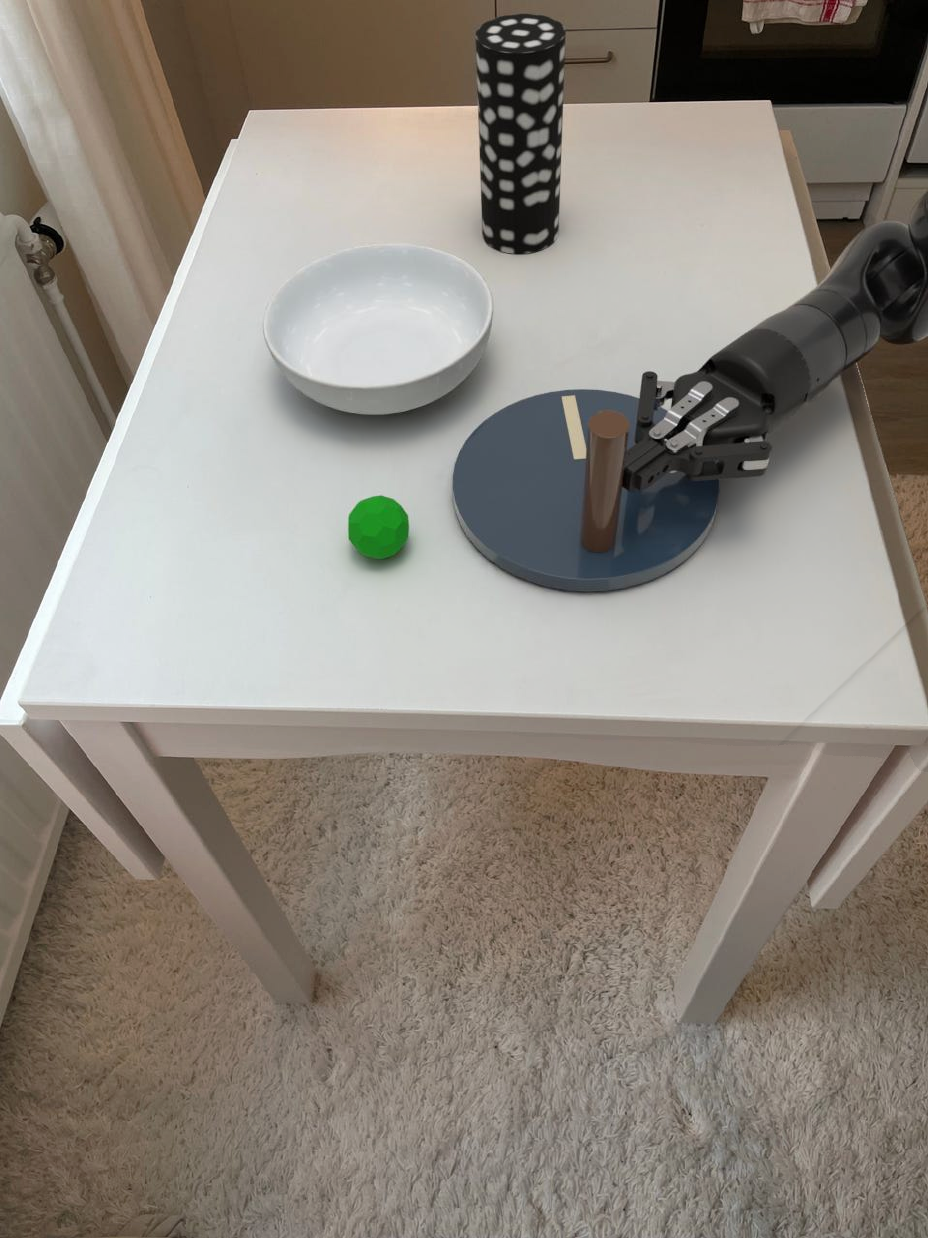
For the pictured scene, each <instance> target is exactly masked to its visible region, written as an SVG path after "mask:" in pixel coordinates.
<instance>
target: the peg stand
mask: <svg viewBox="0 0 928 1238" xmlns="http://www.w3.org/2000/svg"><path fill="white" fill-rule="evenodd" d="M639 398H640V397H637V396H634V395H630V394H626V393H621V392H616V391H610V390H604V389H590V388H588V389H587V388H579V389H563V390H554V391H548V392H545V393H539V394H535V395H532V396H529V397H525V398H522V399H520V400H518V401H516V402H513V403H511V404H509V405H506V406H505V407H503V408H501V409H499V410H498V411H496V412H494V413H493V414H491V415H490V416H489V417H488V418H486V419H485V420H484V421H482V422H481V423H480V424H479V425H478V426H477V427H476V428H475V429H474V430H473V431H472V432H471V433H470V435H469V436H468V437H467V438H466V439H465V441H464V443H463V444H462V447H461V448H460V450H459V452H458V455H457V457H456V460H455V462H454V466H453V472H452V497H453V498H452V499H453V504H454V505H453V506H454V510H455V515H456V517H457V519H458V521H459V524H460V527H461V528H462V530H463V531H464V533H465V535H466V537H467V539H469V541H470V542H471V543H472V544H473V546H474V547H475V548H476V550H478V551H479V552H480V553H481V554H482V555H483V556H484V557H486V559H488V560H489V561H491V562H492V563H493V564H495V565H496V566H497V567H499V569H500V568H501V569H502V570H505V572H508V573H510V574H512V575H514V576H515V577H518V578H520V579H522V580H525V581H528V582H530V583H533V584H535V585H540V586H543V587H547V588H551V589H558V590H563V591H571V592H572V591H573V592H607V591H614V590H620V589H625V588H629V587H633V586H637V585H641V584H644V583H646V582H649V581H652V580H655V579H657V578H659V577H661V576H663V575H664V574H667V573H668V572H671V571H672V570H674V569H675V568H676V567H678V566H680V565H681V564H682V563H684V562H685V561H686V560H687V559H688V558H689V557H690V556H692V554H694V553H695V552H696V550H697V549H699V547H700V546H701V544H702V543H703V542H704V541H705V539H706V537H707V535H708V533H710V530H711V529H712V526H713V524H714V521H715V518H716V515H717V511H718V505H719V500H720V493H721V487H720V479H716V480H703V481H691V480H689V479H687V477H686V473H683V472H680V471H677V472H675V473H667V474H666V475H664V476H663V477H662V478H660V479H659V480H658V481H656V482H655V483H654V484H652V485H651V486H650V487H648V488H647V489H644V490H638V489H636V490H635V491H634V492H632V493H630V492H629V491H627V490H626V489H625V488H623V487H622V484H623V476H624V467H625V459H626V451H627V450H629V449H630V448H632V447H633V446H634V445H636V443H635V441H634V439H635V431H636V423H637V414H638V406H639ZM667 412H668V410H667V409H665V408H664V407H663V406H661V407H659V410H658V411H655V410H654V415H653V422H654V424H655V425H657V424H658V423H659V422H660V421H661V420H663V419H664V417H665V416H666V413H667ZM705 464H716V461H709V462H705V463H704V465H705Z"/></svg>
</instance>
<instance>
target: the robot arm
mask: <svg viewBox="0 0 928 1238" xmlns="http://www.w3.org/2000/svg"><path fill="white" fill-rule="evenodd" d="M927 337H928V189H927V190H926V191H925V192H924V193H923V194H922V195H921V197H920V198H919V199H918V200H917V201H916V203H915V204H914V205H913V208H912V209H911V212H910V214H909V218H908V225H907V224H906V223H903V222H901V221H898V220H895V219H894V220H893V219H885V220H884V219H883V220H879V221H876V222H873V223H871V224H869V225H867V226H866V227H865V228H863V229H861V230H860V231H859V232H858V233H857V234H856V235H855V236H854V237H853V238H852V239H851V240H849V242H848V244H846V246H845V247H844V249H842V251H841V252H840V254H839V256H838V257H837V259H836V260H835V262H834V263H833V264H832V266H831V268H830V269H829V270H828V273H827V274H826V276H825V277H824V278H823V279H822V280H821V281H820V283H819V284H818V285H816V286H815V287H814V288H813V289H811V290H810V291H809V292H808V293H806V294H805V295H804V296H802V297H800V298H799V299H798V300H796V301H795V302H794V303H792V304H790V305H789V306H788V307H786V308H785V309H783V310H781V311H779V312H777V313H775V314H772V315H771V316H769V317H767V318H766V319H764V320H762V321H761V322H759V323H758V324H756V325H755V326H753V327H752V328H750V329H749V330H748V331H746V332H744V333H743V334H742V335H740V336H739V337H738V338H736V339H735V340H733V341H732V342H730V343H729V344H727V345H726V346H724V347H723V348H722V349H720V350H719V351H717V352H715V353H714V354H713V355H711V356H710V357H709V358H708V359H707V360H706V362H705V363H704V364H703V365H702V366H701V367H700V368H699V369H698V370H697V371H694V372H691V373H687V374H686V373H685V374H683V375H680V376H678V378H677V379H676V380H675V381H667V380H658V379H659V378H658V377H659V376H658V374H657V372H655V371H652V370H651V371H650V370H647V371H645V372H643V373H642V375H641V382H640V389H639V390H640V391H639V397H638V398H639V406H638V414H637V423H636V431H635V439H634V441H635V443H636V445H634V446H633V447H632V448H630V449H629V450H627V451H626V459H625V467H624V476H623V484H622V487H623V488H625V489H626V490H627V491H629V492H630V493H632V492H634V491H635V490H636V489H638V490H644V489H647V488H648V487H650V486H651V485H652V484H654V483H655V482H656V481H658V480H659V479H660V478H662V477H663V476H664V475H666V474H667V473H675V472H677V471H680V472H683V473H686V477H687V479H689V480H691V481H703V480H716V479H719V480H727V479H741V478H753V477H762V476H764V475H765V474H766V471H767V467H768V466H769V462H770V459H771V453H772V450H773V446H772V444H771V443H769V442H768V441H765V439H766V436H767V435H769V434H770V433H771V432H772V431H774V430H775V429H777V428H778V427H779V426H781V425H782V424H783V423H784V422H786V421H787V420H789V419H790V418H791V417H792V416H793V415H795V414H796V413H797V412H799V411H800V410H801V409H803V408H804V407H805V406H807V405H808V404H811V403H812V402H813V401H814V400H815V399H816V398H817V397H818V396H819V395H821V394H822V393H823V392H824V391H825V390H826V389H827V388H828V387H829V386H830V384H831V383H832V382H834V381H835V380H836V379H837V378H838V377H840V376H841V375H843V373H845V372H846V371H848V370H849V369H850V368H852V367H853V366H855V364H857V363H858V362H859V361H860V360H862V359H863V358H865V356H868V354H869V353H870V352H871V351H872V350H873V349H874V347H875V346H876V345H877V343H878V341H879V339H880V338H881V339H882V340H884V342H886V343H888V344H893V345H897V346H898V345H899V346H903V345H904V346H905V345H911V344H914V343H917V342H919V341H921V340H924V339H925V338H927ZM670 399H671V403H670V408H669V409H668V410H667V411H668V412H667V413H666V416H665V417H664V419H663V420H661V421H660V422H659V423H658V424H657V425H655V424H654V422H653V415H654V410H655V411H658V410H659V407H663V406H664V405H665V403H666V401H667V400H670ZM709 461H715V464H705V465H704V463H705V462H709Z"/></svg>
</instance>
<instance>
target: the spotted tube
mask: <svg viewBox="0 0 928 1238" xmlns="http://www.w3.org/2000/svg"><path fill="white" fill-rule="evenodd" d="M566 34H567V33H566V27H565V26H564V25H563V24H562V23H561V22H560V21H559V20H557V19H555V18H552V17H550V16H547V15H542V14H537V13H513V14H506V15H501V16H497V17H494V18H491V19H489V20H487V21H486V22H483V23H482V24H481V25H480V26H479V27H478V28H477V30H476V32H475V57H476V59H475V62H476V63H475V65H476V86H477V87H476V88H477V90H476V91H477V92H476V93H477V115H478V116H477V118H478V121H477V122H478V148H479V177H480V178H479V179H480V203H481V204H480V206H481V232H482V238H483V240H484V242H485V244H487V245H488V246H489V247H491V248H492V249H494V250H497V251H499V252H502V253H505V254H514V255H526V254H532V253H536V252H539V251H543V250H544V249H547V248H548V247H550V246H551V245H552V244H553V243H555V241H557V239H558V236H559V234H560V233H559V231H560V205H561V204H560V203H561V201H560V200H561V176H562V146H563V120H564V91H565V90H564V89H565V88H564V87H565V63H566V62H565V61H566Z"/></svg>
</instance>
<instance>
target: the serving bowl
mask: <svg viewBox="0 0 928 1238" xmlns="http://www.w3.org/2000/svg"><path fill="white" fill-rule="evenodd" d="M493 316H494V299H493V295H492V292H491V290H490V287H489V284H488V283H487V281H486V280H485V278H484V277H483V276H482V275H481V274H480V272H479V271H478V270H477V269H475V268H474V267H473V266H472V265H471V264H469V263H468V262H466V261H465V260H463V259H462V258H460V257H458V256H456V255H454V254H451V253H449V252H446V251H443V250H440V249H437V248H435V247H434V248H433V247H429V246H425V245H422V244H421V245H420V244H412V243H403V242H402V243H400V242H399V243H398V242H397V243H395V242H389V243H387V242H386V243H373V244H372V243H371V244H365V245H359V246H354V247H350V248H345V249H341V250H338V251H335V252H332V253H330V254H327V255H324V256H321V257H320V258H317V259H315V260H313V261H311V262H309V263H308V264H306V265H304V266H303V267H301V268H299V269H298V270H296V271H295V272H294V273H293V274H291V275H290V276H289V277H288V278H286V280H285V281H283V282H282V283H281V285H279V287H277V289H276V290H275V292H274V293H273V294H272V296H271V297H270V299H269V301H268V303H267V305H266V307H265V310H264V314H263V319H262V334H263V337H264V342H265V344H266V347H267V349H268V351H269V353H270V355H271V357H272V359H273V361H274V363H275V365H276V366H277V368H278V370H279V371H280V372H281V373H282V375H283V376H284V378H285V379H286V380H287V381H288V382H289V383H290V384H291V385H292V386H293V387H294V388H296V390H298V391H299V392H300V393H302V394H303V395H305V396H306V397H308V398H309V399H311V400H313V401H314V402H317V403H319V404H320V405H323V406H326V407H328V408H332V409H334V410H337V411H341V412H345V413H350V414H359V415H371V416H373V415H376V416H377V415H379V416H380V415H381V416H382V415H391V414H399V413H402V412H407V411H411V410H414V409H417V408H421V407H423V406H426V405H428V404H431V403H433V402H435V401H436V400H438V399H440V398H442V397H444V396H445V395H447V394H449V393H450V392H452V391H453V390H454V389H455V388H456V387H458V386H459V385H460V384H461V383H462V382H464V380H466V379H467V377H468V376H469V375H470V374H471V373H472V372H473V370H474V369H475V368H476V367H477V365H478V363H479V361H480V360H481V358H482V357H483V355H484V353H485V350H486V348H487V346H488V343H489V339H490V335H491V330H492V325H493V318H494V317H493Z"/></svg>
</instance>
